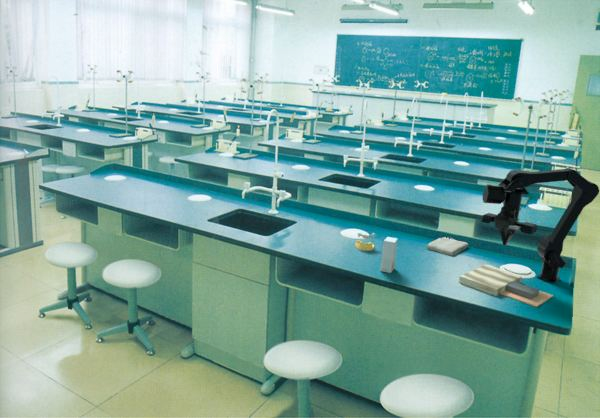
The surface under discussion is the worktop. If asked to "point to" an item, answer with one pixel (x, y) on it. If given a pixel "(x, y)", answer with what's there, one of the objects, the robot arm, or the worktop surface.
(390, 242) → the skincare box
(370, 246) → the dental model
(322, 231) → the worktop surface
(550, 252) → the robot arm
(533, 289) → the grey rectangular block
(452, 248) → the washcloth
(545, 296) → the mat
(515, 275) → the cream wavy flat block
